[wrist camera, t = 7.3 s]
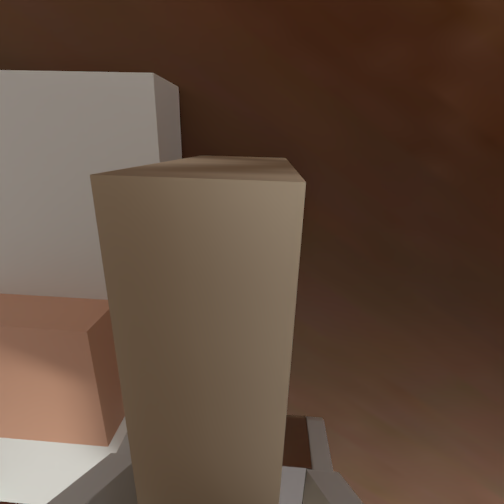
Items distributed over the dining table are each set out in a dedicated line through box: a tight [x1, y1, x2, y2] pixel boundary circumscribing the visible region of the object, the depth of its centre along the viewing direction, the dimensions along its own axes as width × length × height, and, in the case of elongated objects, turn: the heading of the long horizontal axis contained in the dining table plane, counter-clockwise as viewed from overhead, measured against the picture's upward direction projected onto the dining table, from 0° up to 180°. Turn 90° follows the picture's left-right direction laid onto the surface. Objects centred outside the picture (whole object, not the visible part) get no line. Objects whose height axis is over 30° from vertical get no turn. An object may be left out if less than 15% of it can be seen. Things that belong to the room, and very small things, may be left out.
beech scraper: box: [90, 155, 306, 504], centre depth 9 cm, size 2×16×6 cm, turn 179°
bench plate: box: [0, 70, 182, 504], centre depth 14 cm, size 10×20×2 cm, turn 178°
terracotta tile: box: [0, 293, 125, 447], centre depth 12 cm, size 5×5×2 cm
